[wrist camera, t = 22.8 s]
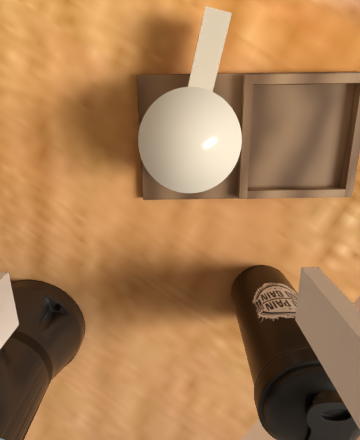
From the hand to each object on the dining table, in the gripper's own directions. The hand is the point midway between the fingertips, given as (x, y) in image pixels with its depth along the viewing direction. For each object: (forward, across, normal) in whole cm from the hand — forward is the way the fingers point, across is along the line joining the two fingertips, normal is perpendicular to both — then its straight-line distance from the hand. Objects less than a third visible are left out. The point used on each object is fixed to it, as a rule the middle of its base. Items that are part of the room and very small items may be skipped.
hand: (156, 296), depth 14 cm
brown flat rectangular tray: (+29, +10, +5) cm, 31 cm away
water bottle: (+29, +13, -17) cm, 36 cm away
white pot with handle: (+28, +3, +9) cm, 29 cm away
